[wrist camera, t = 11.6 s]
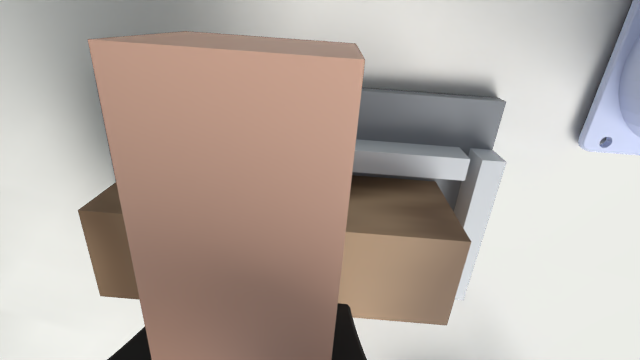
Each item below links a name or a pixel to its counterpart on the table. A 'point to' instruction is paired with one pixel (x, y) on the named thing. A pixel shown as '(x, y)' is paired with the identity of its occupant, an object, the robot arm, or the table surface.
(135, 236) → the block
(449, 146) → the jig
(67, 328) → the table surface
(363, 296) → the tan cardboard box
